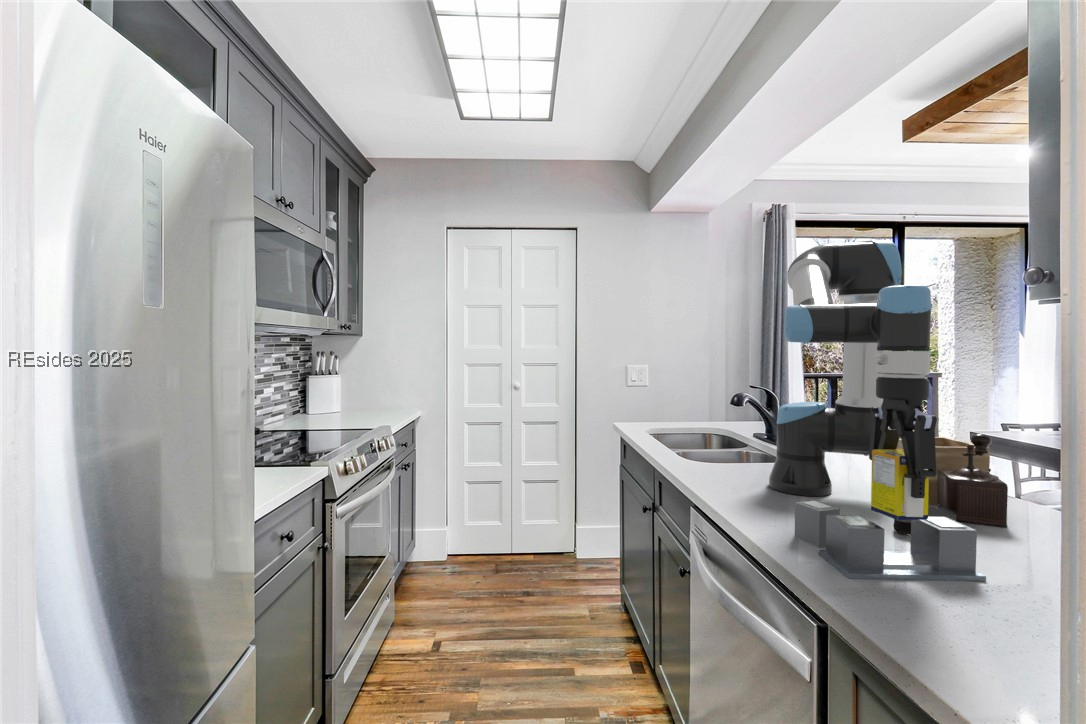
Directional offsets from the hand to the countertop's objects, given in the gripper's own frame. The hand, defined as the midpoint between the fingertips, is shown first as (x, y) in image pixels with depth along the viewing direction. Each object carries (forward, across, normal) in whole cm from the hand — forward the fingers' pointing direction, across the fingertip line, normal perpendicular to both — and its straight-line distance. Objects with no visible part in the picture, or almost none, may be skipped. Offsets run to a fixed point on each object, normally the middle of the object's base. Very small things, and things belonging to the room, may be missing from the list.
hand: (899, 509), depth 90 cm
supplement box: (+1, 0, 0) cm, 1 cm away
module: (+10, -12, -8) cm, 18 cm away
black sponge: (+10, -20, +18) cm, 29 cm away
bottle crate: (+10, -45, +38) cm, 60 cm away
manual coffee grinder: (+10, -30, +35) cm, 47 cm away
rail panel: (+10, 0, 0) cm, 10 cm away
